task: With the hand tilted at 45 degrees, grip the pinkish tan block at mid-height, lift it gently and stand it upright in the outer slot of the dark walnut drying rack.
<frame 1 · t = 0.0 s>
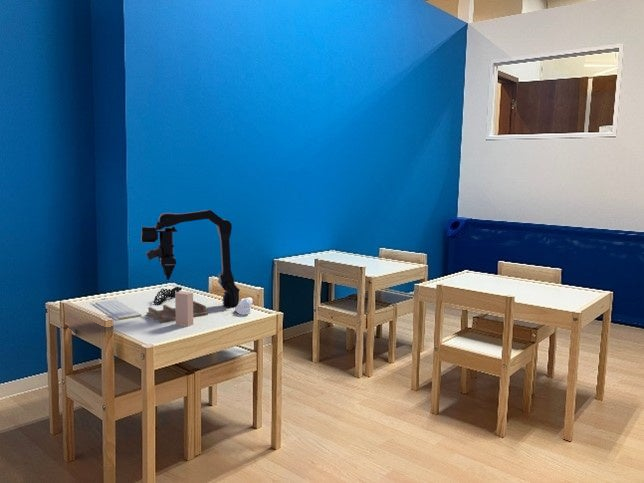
hand: (166, 277, 236), 15 cm above the table, tool pointing down, fingers open, 9 cm apart
pinkish tan block: (184, 324, 218), on the table
drying rack: (163, 317, 227), on the table
decorative element: (168, 300, 258), on the table
baby figurine: (243, 312, 238), on the table
baseboard molding: (114, 312, 236), on the table
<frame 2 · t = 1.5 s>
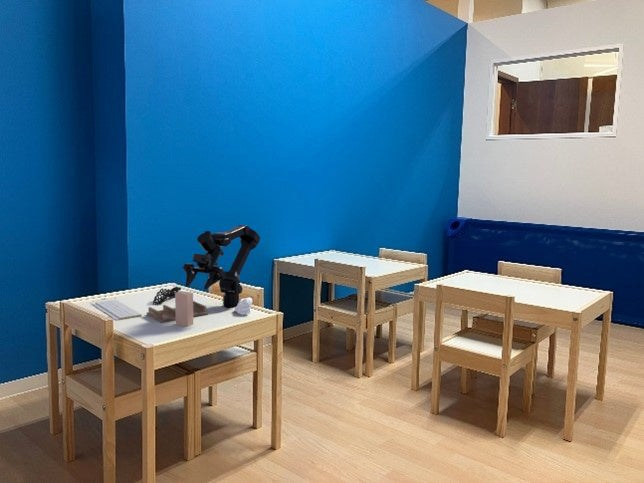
hand: (195, 287, 223), 13 cm above the table, tool tilted 45°, fingers open, 9 cm apart
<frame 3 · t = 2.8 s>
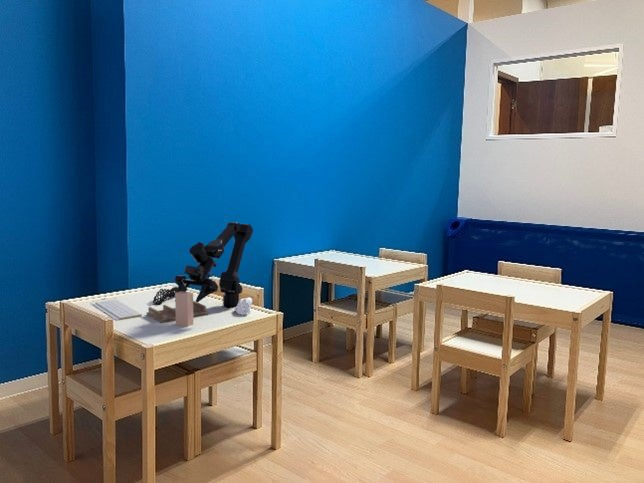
hand: (187, 300, 218), 9 cm above the table, tool tilted 45°, fingers open, 9 cm apart
nothing on the table moved.
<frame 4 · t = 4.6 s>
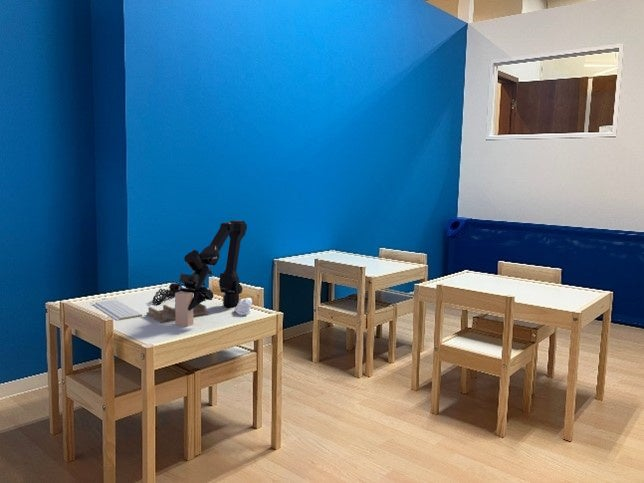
hand: (182, 309, 216), 7 cm above the table, tool tilted 45°, fingers closed on pinkish tan block, 6 cm apart
pinkish tan block: (184, 324, 218), on the table, touching gripper
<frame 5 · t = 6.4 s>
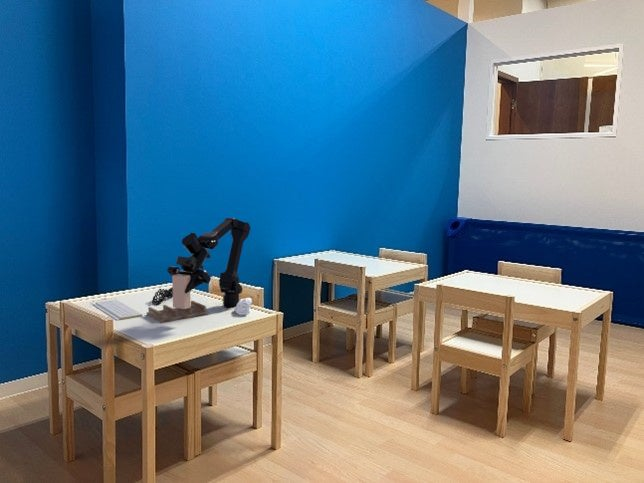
hand: (179, 291, 215), 13 cm above the table, tool tilted 45°, fingers closed on pinkish tan block, 6 cm apart
pinkish tan block: (181, 307, 217), point 7 cm above the table, touching gripper
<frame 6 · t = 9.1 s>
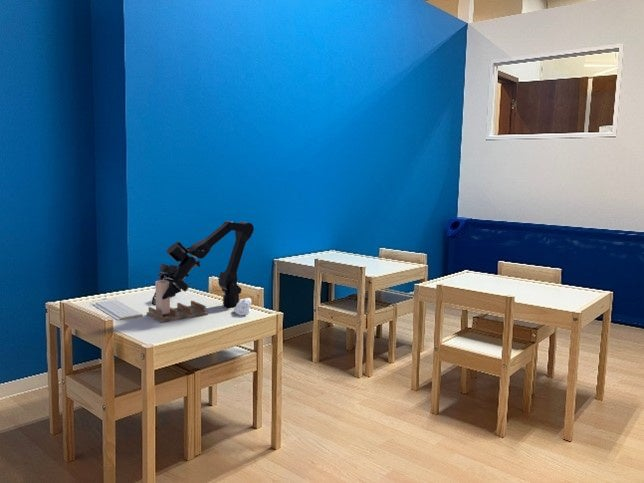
hand: (159, 297, 225), 9 cm above the table, tool tilted 45°, fingers closed on pinkish tan block, 6 cm apart
pinkish tan block: (163, 312, 227), point 2 cm above the table, touching gripper
when the fingers open (9 cm above the table, at t = 9.6 s): pinkish tan block drops 1 cm, resting on drying rack.
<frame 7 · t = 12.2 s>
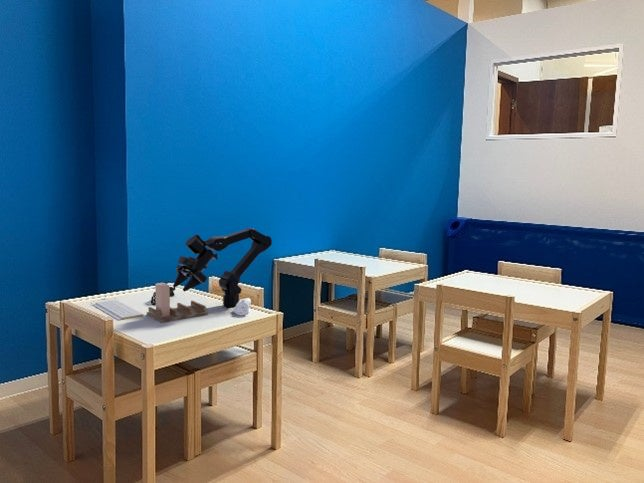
hand: (178, 288, 230), 11 cm above the table, tool tilted 45°, fingers open, 9 cm apart
pinkish tan block: (162, 314, 227), point 1 cm above the table, touching drying rack
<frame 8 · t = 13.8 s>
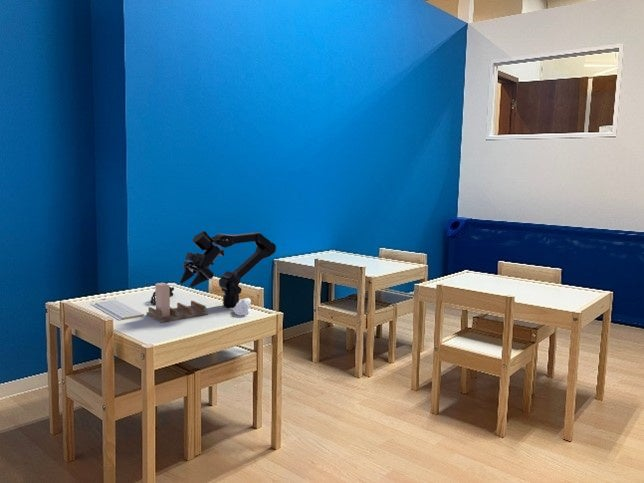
hand: (185, 284, 232), 13 cm above the table, tool tilted 45°, fingers open, 9 cm apart
at the end: pinkish tan block 0.0 cm off-centre on the drying rack, point 1.0 cm above the drying rack's base; pinkish tan block tilted 0°; the gripper is holding nothing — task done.
